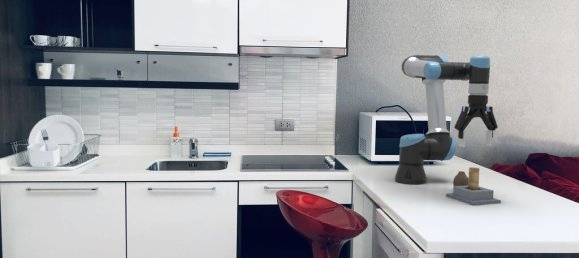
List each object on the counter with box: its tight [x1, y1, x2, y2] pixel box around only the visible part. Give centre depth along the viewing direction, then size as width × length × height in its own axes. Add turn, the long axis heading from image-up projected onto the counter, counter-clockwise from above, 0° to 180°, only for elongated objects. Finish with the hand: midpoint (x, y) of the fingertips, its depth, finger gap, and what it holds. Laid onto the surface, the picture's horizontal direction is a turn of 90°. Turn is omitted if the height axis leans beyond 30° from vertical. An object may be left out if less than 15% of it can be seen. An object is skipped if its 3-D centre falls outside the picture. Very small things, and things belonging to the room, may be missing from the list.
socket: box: [445, 185, 502, 206], centre depth 186 cm, size 16×14×5 cm
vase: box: [452, 170, 469, 187], centre depth 202 cm, size 7×7×9 cm
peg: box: [468, 167, 480, 190], centre depth 186 cm, size 4×4×12 cm
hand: (475, 146), depth 184 cm, fingers open, 13 cm apart
